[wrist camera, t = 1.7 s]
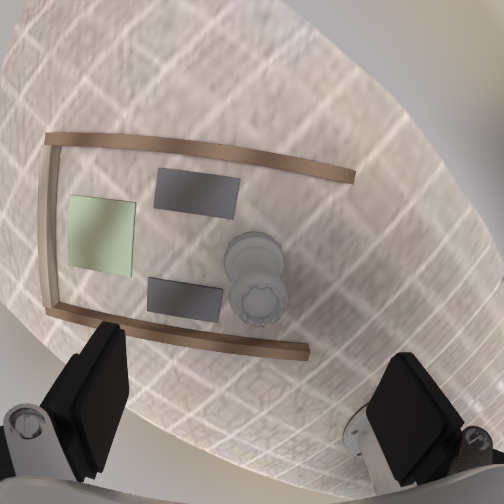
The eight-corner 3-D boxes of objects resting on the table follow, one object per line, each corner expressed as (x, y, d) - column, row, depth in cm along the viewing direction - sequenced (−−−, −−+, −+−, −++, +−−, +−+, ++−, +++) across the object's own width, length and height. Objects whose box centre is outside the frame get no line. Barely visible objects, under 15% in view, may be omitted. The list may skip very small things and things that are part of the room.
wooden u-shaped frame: (350, 170, 22) (357, 171, 20) (304, 353, 26) (307, 362, 25) (53, 133, 20) (43, 132, 18) (52, 309, 24) (44, 316, 23)
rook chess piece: (244, 296, 24) (246, 354, 17) (213, 250, 23) (200, 294, 16) (293, 267, 24) (316, 316, 16) (263, 219, 23) (276, 249, 15)
